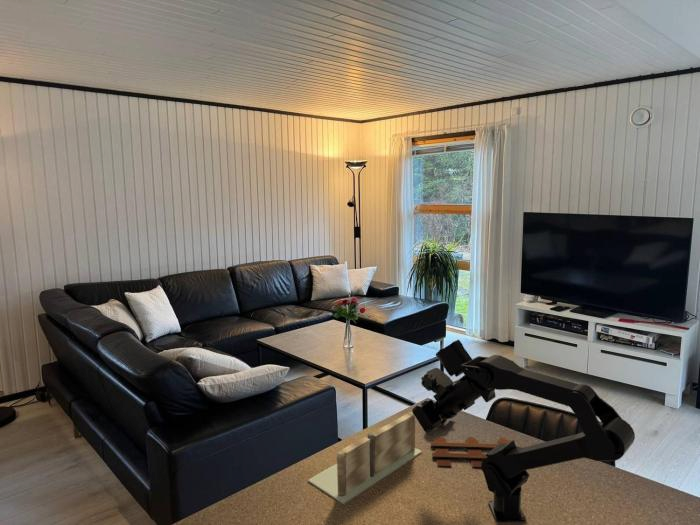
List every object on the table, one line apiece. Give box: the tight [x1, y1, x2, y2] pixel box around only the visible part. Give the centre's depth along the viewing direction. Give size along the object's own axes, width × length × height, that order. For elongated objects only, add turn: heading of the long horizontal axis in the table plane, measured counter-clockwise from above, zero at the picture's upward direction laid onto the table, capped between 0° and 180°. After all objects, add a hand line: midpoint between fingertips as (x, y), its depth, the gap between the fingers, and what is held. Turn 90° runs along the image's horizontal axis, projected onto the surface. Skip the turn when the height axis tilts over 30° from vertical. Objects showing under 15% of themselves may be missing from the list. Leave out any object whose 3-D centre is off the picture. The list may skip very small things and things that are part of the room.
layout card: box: [307, 447, 423, 505], centre depth 125 cm, size 30×12×1 cm, turn 135°
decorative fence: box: [430, 435, 517, 470], centre depth 131 cm, size 23×2×15 cm
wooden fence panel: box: [336, 433, 374, 497], centre depth 116 cm, size 12×2×11 cm, turn 135°
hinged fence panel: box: [370, 411, 416, 473], centre depth 126 cm, size 16×2×10 cm, turn 135°
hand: (424, 420), depth 121 cm, fingers closed
